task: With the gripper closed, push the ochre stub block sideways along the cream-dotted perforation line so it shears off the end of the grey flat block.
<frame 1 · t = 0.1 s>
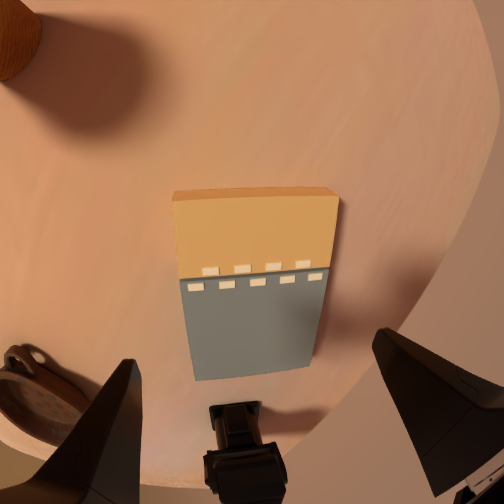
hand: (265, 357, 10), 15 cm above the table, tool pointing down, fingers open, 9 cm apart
disposable coffee cup: (13, 45, 12), on the table
dish: (49, 392, 29), on the table
stub: (255, 230, 22), point 1 cm above the table, slide at 0.0 cm
grey flat block: (250, 316, 27), on the table
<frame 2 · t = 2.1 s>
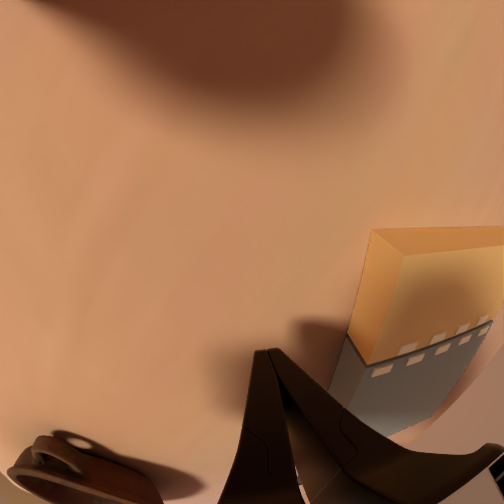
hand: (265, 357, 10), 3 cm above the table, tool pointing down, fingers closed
dish: (90, 468, 20), on the table
stub: (453, 285, 13), point 1 cm above the table, slide at 0.0 cm
grey flat block: (394, 377, 19), on the table
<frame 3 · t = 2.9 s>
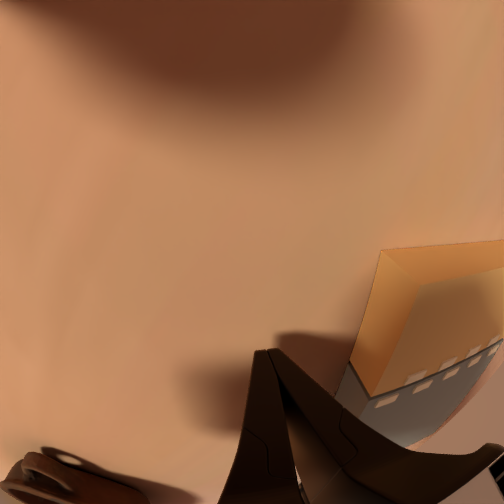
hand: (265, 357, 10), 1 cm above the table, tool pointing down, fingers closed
dish: (83, 481, 18), on the table
stub: (466, 307, 12), point 1 cm above the table, slide at 0.0 cm
grey flat block: (398, 398, 17), on the table
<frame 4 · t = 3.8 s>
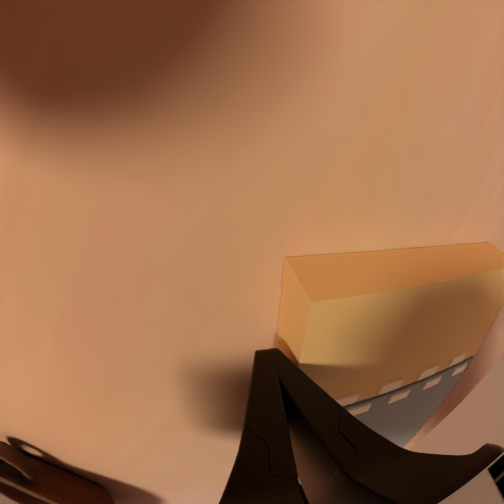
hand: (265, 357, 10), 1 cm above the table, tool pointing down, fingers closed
dish: (52, 474, 18), on the table
stub: (416, 323, 11), point 1 cm above the table, slide at 0.1 cm, touching gripper
grey flat block: (350, 414, 16), on the table
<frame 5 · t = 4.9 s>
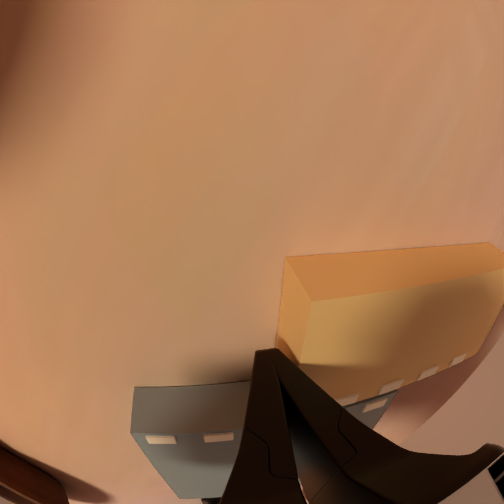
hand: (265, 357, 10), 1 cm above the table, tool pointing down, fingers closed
dish: (12, 461, 17), on the table
stub: (416, 323, 11), point 1 cm above the table, slide at 6.4 cm, touching gripper
grey flat block: (258, 435, 15), on the table
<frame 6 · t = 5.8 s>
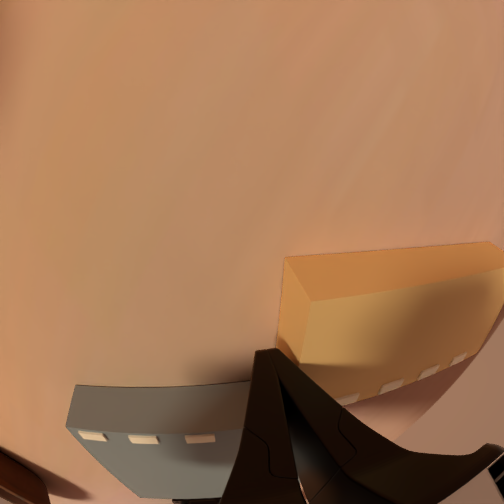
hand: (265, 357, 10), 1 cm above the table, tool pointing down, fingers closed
stub: (416, 322, 11), point 1 cm above the table, slide at 9.6 cm, touching gripper
grey flat block: (207, 440, 15), on the table
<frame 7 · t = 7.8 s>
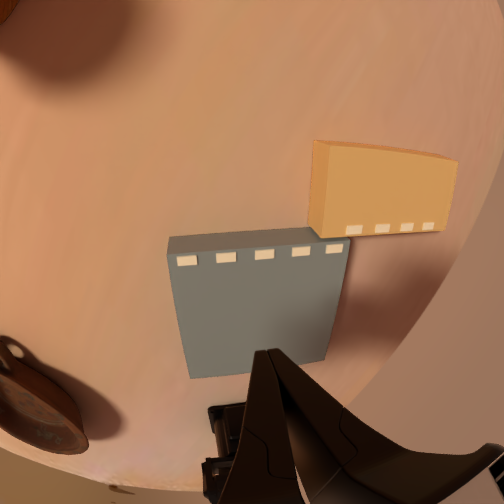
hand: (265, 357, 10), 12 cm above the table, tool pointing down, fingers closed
dish: (31, 390, 25), on the table
stub: (391, 189, 19), point 1 cm above the table, slide at 9.7 cm
grey flat block: (255, 300, 23), on the table
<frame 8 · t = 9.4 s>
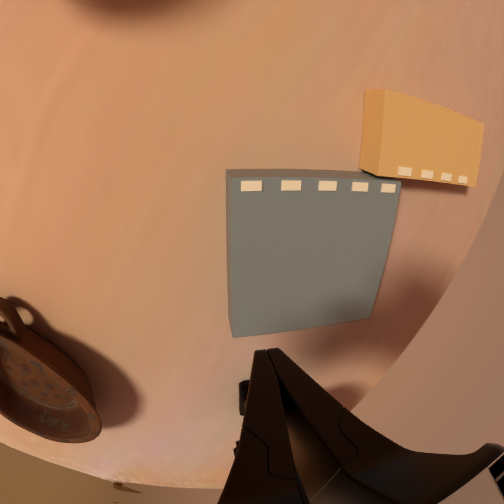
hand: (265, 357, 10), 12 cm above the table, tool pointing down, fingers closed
dish: (37, 367, 23), on the table
stub: (431, 141, 18), point 1 cm above the table, slide at 9.7 cm
grey flat block: (305, 247, 22), on the table
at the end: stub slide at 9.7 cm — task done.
